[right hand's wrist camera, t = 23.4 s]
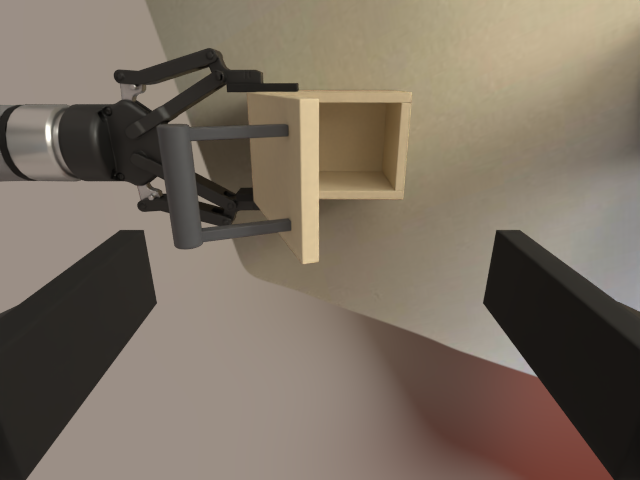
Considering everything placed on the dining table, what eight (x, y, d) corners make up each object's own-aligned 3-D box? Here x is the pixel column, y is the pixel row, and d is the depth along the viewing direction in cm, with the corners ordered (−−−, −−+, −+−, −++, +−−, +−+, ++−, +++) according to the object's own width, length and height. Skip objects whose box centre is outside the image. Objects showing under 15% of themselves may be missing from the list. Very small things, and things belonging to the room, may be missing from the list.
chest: (393, 90, 44) (412, 92, 34) (387, 176, 47) (403, 199, 38) (268, 90, 44) (254, 92, 35) (272, 176, 48) (260, 199, 38)
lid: (319, 98, 21) (151, 100, 18) (319, 262, 25) (179, 284, 22) (259, 92, 34) (155, 93, 31) (265, 200, 38) (172, 209, 35)
